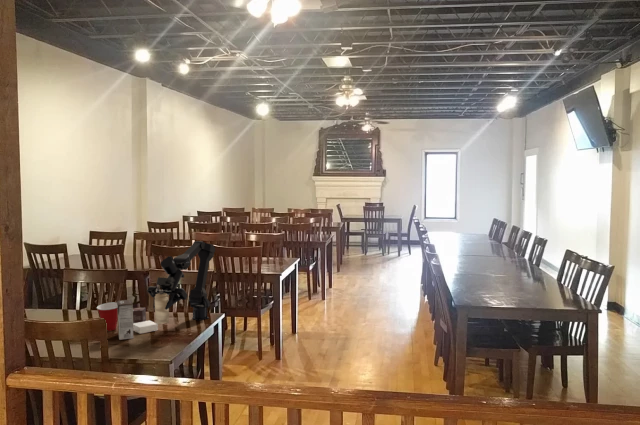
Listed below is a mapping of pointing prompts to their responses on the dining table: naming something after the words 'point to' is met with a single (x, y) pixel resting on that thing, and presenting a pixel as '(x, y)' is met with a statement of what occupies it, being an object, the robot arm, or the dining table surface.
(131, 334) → the coffee box
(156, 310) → the pepper mill
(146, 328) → the stand
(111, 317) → the plastic cup
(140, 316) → the box
